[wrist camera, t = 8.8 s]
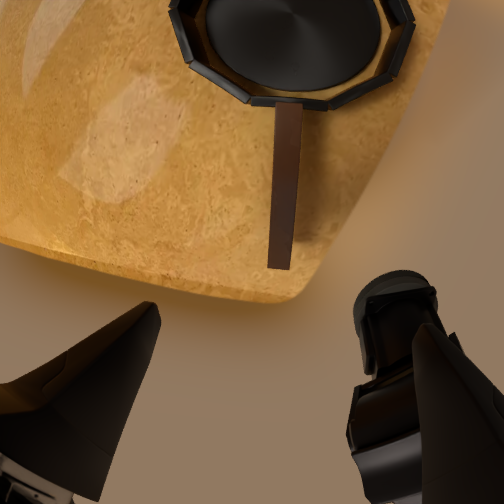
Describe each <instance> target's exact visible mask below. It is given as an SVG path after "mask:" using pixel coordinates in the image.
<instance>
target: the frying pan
mask: <svg viewBox="0 0 504 504" xmlns="http://www.w3.org/2000/svg"><path fill="white" fill-rule="evenodd" d="M202 1H203V0H171V2H170V4H169V6H168V7H169V8H171V10H169V11H168V13H169V16H170V19H171V22H172V25H173V28H174V31H175V34H176V37H177V40H178V43H179V46H180V49H181V52H182V55H183V58H184V61H185V63H186V64H189V68H190V69H192V70H194V71H195V72H197V73H199V74H200V75H202V76H203V77H205V78H207V79H208V80H210V81H211V82H213V83H215V84H216V85H218V86H219V87H221V88H222V89H224V90H225V91H227V92H228V93H230V94H231V95H233V96H234V97H236V98H237V99H238V100H240V101H241V102H243V103H244V104H251V106H260V107H275V130H274V153H273V175H272V195H271V214H270V231H269V248H268V265H267V268H272V269H282V270H289V269H290V260H291V251H292V241H293V232H294V222H295V211H296V200H297V189H298V176H299V163H300V149H301V134H302V117H303V109H307V110H316V111H325V112H327V111H328V110H336V109H337V108H339V107H341V106H343V105H345V104H347V103H349V102H351V101H353V100H355V99H357V98H359V97H361V96H363V95H365V94H367V93H369V92H371V91H373V90H375V89H377V88H379V87H381V86H383V85H385V84H388V83H390V82H392V81H393V79H392V78H395V77H397V75H398V73H399V70H400V68H401V65H402V63H403V60H404V57H405V55H406V52H407V49H408V47H409V44H410V41H411V38H412V35H413V33H414V30H415V27H416V24H414V23H413V22H414V21H415V18H414V15H413V13H412V10H411V8H410V5H409V3H408V1H407V0H379V1H380V4H381V6H382V8H383V11H384V13H385V15H386V18H387V20H388V23H389V26H390V28H391V33H390V35H389V38H388V41H387V43H386V46H385V48H384V51H383V53H382V56H381V59H380V61H379V64H378V66H377V69H376V71H375V73H374V76H373V77H371V78H368V79H366V80H364V81H362V82H360V83H358V84H356V85H354V86H352V87H350V88H348V89H346V90H344V91H342V92H340V93H338V94H336V95H335V96H333V97H331V98H329V99H327V100H325V101H324V100H316V99H306V98H294V97H279V96H257V95H255V94H254V93H252V92H251V91H249V90H248V89H247V88H245V87H244V86H242V85H241V84H239V83H238V82H236V81H235V80H233V79H232V78H230V77H228V76H227V75H225V74H224V73H222V72H221V71H219V70H217V69H216V68H214V67H213V66H211V65H210V62H209V60H208V57H207V54H206V51H205V48H204V45H203V42H202V39H201V36H200V33H199V31H198V28H197V25H196V22H195V17H196V14H197V12H198V10H199V8H200V5H201V3H202ZM206 29H207V34H208V37H209V40H210V43H211V44H212V46H213V48H214V50H215V52H216V53H217V54H218V56H219V57H220V58H221V59H222V60H223V61H224V62H225V63H226V64H227V65H228V66H229V67H230V68H231V69H232V70H234V71H235V72H236V73H238V74H239V75H241V76H243V77H244V78H246V79H248V80H250V81H252V82H254V83H257V84H259V85H262V86H265V87H268V88H272V89H277V90H282V91H290V92H307V91H316V90H321V89H326V88H329V87H332V86H335V85H338V84H340V83H342V82H344V81H346V80H348V79H349V78H351V77H353V76H354V75H356V74H357V73H358V72H359V71H360V70H362V69H363V68H364V67H365V66H366V64H367V63H368V62H369V61H370V59H371V58H372V56H373V55H374V53H375V50H376V48H377V46H378V42H379V37H380V20H379V15H378V12H377V8H376V6H375V4H374V2H373V0H209V2H208V5H207V9H206Z"/></svg>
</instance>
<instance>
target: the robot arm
mask: <svg viewBox="0 0 504 504" xmlns="http://www.w3.org/2000/svg"><path fill="white" fill-rule="evenodd" d="M430 292H431V293H430ZM435 298H436V289H435V288H434V287H433V286H429V287H423V288H418V289H412V290H406V291H400V292H394V293H388V294H381V295H375V296H369V297H367V298H366V299H365V312H364V319H362V320H361V321H360V338H359V340H360V347H361V352H362V360H363V367H364V373H365V374H366V375H372V381H369V382H368V383H365V384H363V385H358V386H356V387H355V388H354V393H353V398H352V404H351V409H350V414H349V419H348V424H347V430H346V437H347V440H348V444H349V447H350V450H351V452H352V453H351V456H352V458H353V459H354V461H355V463H356V464H357V466H358V469H359V471H360V474H361V478H362V482H363V488H364V494H365V497H366V498H367V499H368V500H369V501H370V503H371V504H386V503H391V502H392V503H394V504H504V395H503V394H502V393H501V392H500V391H499V390H498V389H497V388H496V387H495V386H494V385H493V383H492V382H491V381H490V380H489V379H488V378H487V377H486V376H485V375H484V374H483V373H482V372H481V371H480V370H479V369H478V368H477V367H476V366H475V365H474V363H473V362H472V361H471V360H469V358H468V357H466V355H465V353H464V351H463V349H462V346H461V345H460V342H459V340H458V338H457V336H456V334H455V332H453V333H452V334H450V335H449V337H448V336H447V334H446V332H445V329H444V327H443V325H442V323H441V320H440V318H439V316H438V314H437V312H436V310H435V308H434V303H435ZM370 302H372V303H370ZM160 327H161V318H160V314H159V311H158V307H157V305H156V303H154V302H148V301H144V302H142V303H141V304H139V305H137V306H136V307H134V308H132V309H131V310H129V311H128V312H126V313H124V314H123V315H121V316H120V317H118V318H117V319H115V320H113V321H112V322H110V323H109V324H107V325H106V326H104V327H102V328H101V329H99V330H98V331H96V332H95V333H93V334H91V335H90V336H88V337H87V338H85V339H84V340H82V341H80V342H79V343H77V344H76V345H75V346H73V347H71V348H70V349H68V351H65V352H63V353H62V354H60V355H59V356H57V357H55V358H54V359H52V360H51V361H49V362H47V363H45V364H44V365H42V366H40V367H39V368H37V369H35V370H33V371H31V372H29V373H27V374H25V375H23V376H21V377H19V378H18V379H16V380H14V381H11V382H9V383H4V384H0V504H74V501H73V499H72V497H73V494H74V493H75V494H77V495H80V496H82V497H85V498H87V499H90V500H92V501H96V502H98V501H99V499H100V496H101V493H102V490H103V487H104V483H105V481H106V477H107V474H108V471H109V469H110V466H111V463H112V460H113V456H114V454H115V451H116V448H117V445H118V442H119V440H120V437H121V434H122V431H123V429H124V426H125V424H126V421H127V418H128V416H129V413H130V410H131V408H132V405H133V402H134V400H135V398H136V395H137V393H138V390H139V388H140V385H141V383H142V380H143V378H144V376H145V373H146V371H147V368H148V366H149V363H150V360H151V357H152V353H153V350H154V347H155V344H156V340H157V337H158V333H159V330H160Z"/></svg>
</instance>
